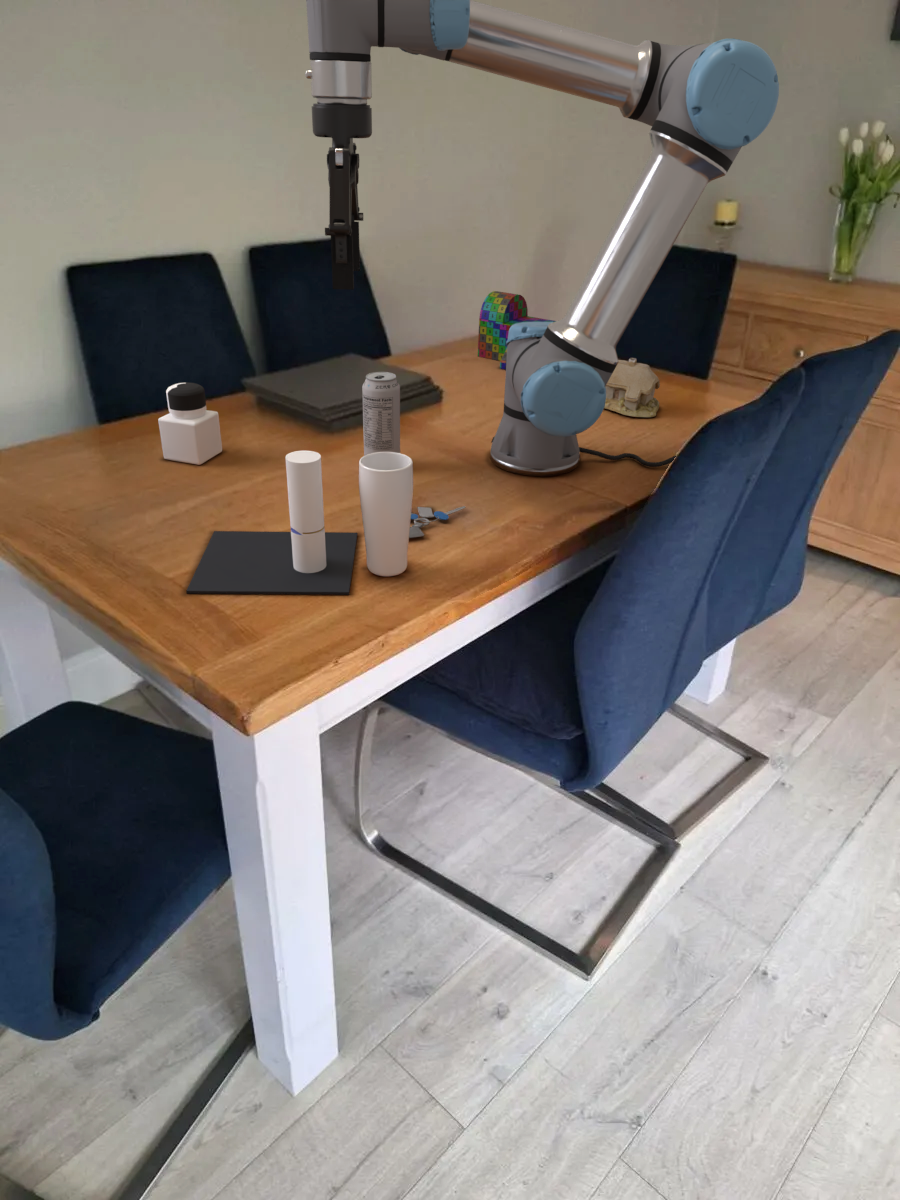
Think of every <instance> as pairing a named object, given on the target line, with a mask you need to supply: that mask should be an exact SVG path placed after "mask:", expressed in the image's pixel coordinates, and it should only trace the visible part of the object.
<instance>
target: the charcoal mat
mask: <svg viewBox="0 0 900 1200" xmlns="http://www.w3.org/2000/svg"><path fill="white" fill-rule="evenodd" d="M357 541H358V532H341V531H340V532H337V531H336V532H335V531H334V532H333V531H331V532H329V531H325V546H326V567H325V568H324V569H323V570H321V571H319V572H315V573H302V572H299V571H297V570H295V569H294V567H293V554H292V540H291V531H246V530H245V531H244V530H243V531H240V530H238V531H237V530H236V531H234V530H232V531H231V530H229V531H228V530H214V531H213V533H212V535H211V538H210V539H209V541H208V543H207V546H206V547H205V550H204V552H203V554H202V556H201V559H200V561H199V563H198V565H197V566H196V569H195V571H194V572H193V573H194V574H193V576H192V577H191V580H190V582H189V584H188V585H187V587H186V591H185V592H186V594H187V595H188V594H190V595H193V594H195V595H196V594H198V595H199V594H200V595H203V594H204V595H308V596H309V595H314V596H319V595H321V596H329V595H330V596H349V595H350V591H351V584H352V576H353V570H354V562H355V556H356V549H357Z"/></svg>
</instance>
